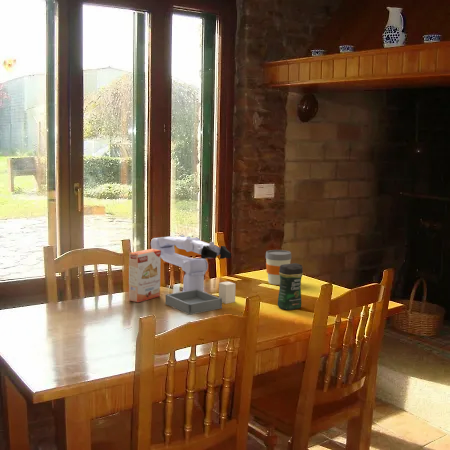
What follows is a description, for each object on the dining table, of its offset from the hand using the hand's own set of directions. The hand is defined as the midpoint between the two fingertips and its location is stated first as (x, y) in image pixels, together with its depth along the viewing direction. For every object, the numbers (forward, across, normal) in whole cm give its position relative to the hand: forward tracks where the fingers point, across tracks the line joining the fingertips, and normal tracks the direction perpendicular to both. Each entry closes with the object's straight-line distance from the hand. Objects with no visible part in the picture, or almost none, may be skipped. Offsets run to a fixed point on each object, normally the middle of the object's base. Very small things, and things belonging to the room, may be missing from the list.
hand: (223, 255), depth 251 cm
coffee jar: (+22, +22, +17) cm, 35 cm away
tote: (-3, -10, +22) cm, 24 cm away
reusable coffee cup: (-13, +47, +16) cm, 51 cm away
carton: (0, +6, +20) cm, 21 cm away
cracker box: (-24, -20, +25) cm, 40 cm away
